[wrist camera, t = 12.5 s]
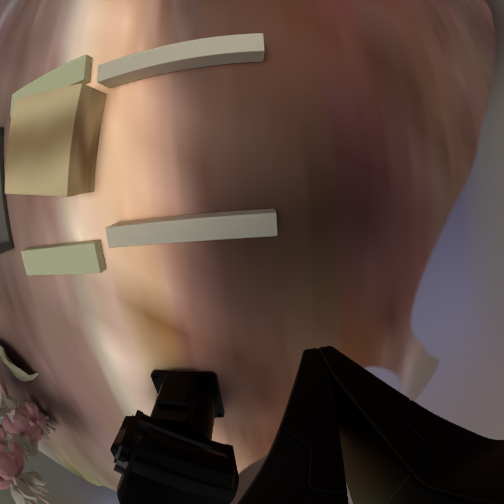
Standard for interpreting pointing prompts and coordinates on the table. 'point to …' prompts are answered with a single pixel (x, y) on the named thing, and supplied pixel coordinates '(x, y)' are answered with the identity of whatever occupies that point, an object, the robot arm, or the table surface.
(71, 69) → the bars
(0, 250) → the tray
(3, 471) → the flower
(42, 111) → the maple block
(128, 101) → the table surface
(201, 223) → the twin beige slats
